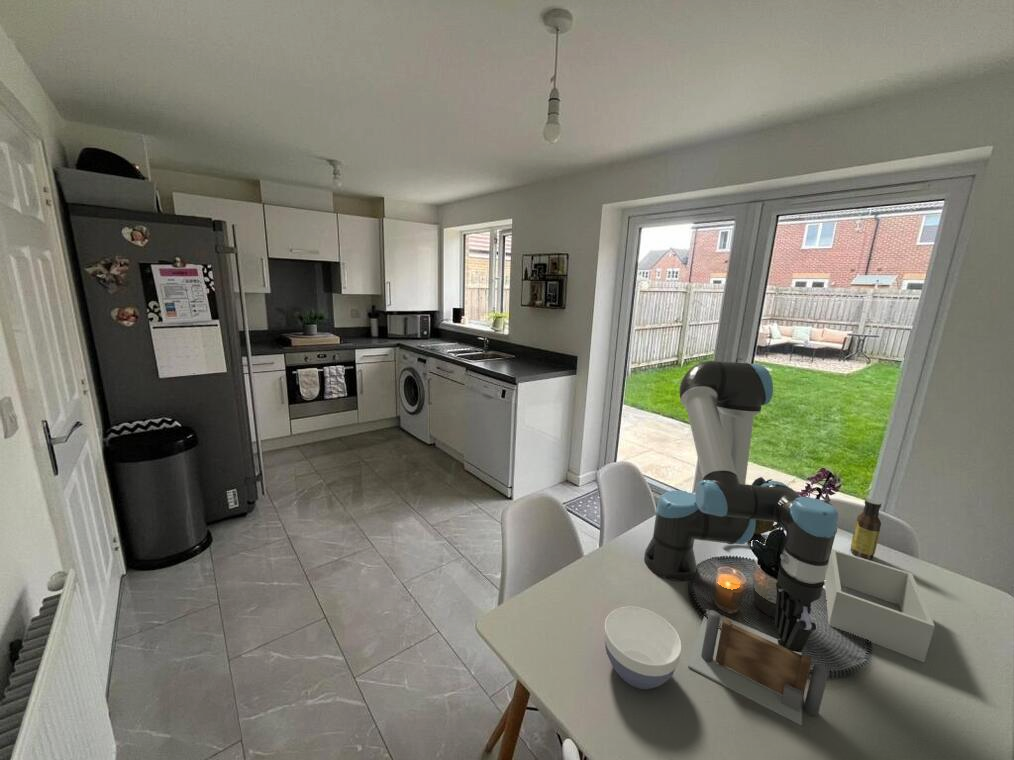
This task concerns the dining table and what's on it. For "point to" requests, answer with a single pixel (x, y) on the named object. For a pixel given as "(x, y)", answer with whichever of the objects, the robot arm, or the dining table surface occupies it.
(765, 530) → the teapot
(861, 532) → the sauce bottle
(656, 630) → the bowl
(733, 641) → the gate
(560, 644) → the dining table surface
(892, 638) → the box
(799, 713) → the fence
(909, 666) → the dining table surface
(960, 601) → the dining table surface
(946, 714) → the dining table surface
